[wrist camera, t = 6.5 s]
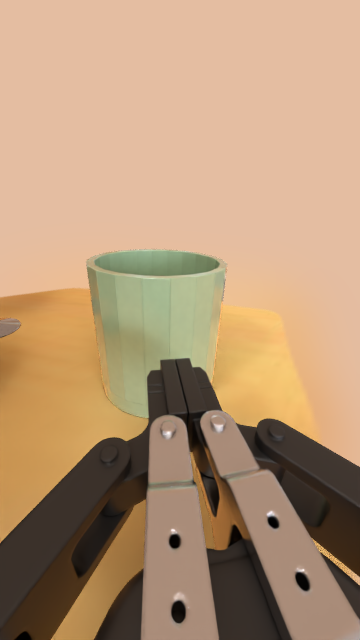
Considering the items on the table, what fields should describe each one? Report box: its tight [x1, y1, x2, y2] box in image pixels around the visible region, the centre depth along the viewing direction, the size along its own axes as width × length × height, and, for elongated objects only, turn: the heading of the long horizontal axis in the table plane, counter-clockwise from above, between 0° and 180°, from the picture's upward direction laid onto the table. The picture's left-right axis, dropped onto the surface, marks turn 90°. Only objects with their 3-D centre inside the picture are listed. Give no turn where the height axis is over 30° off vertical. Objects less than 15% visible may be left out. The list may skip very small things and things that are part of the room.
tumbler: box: [86, 249, 227, 418], centre depth 22 cm, size 11×11×12 cm
